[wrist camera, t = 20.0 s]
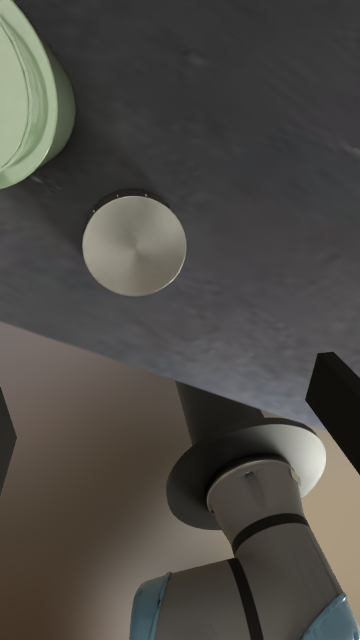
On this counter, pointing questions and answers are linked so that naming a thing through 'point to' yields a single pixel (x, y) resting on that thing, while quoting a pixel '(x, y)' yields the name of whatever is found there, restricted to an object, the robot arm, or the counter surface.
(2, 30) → the flask
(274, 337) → the counter surface
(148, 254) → the flask lid
